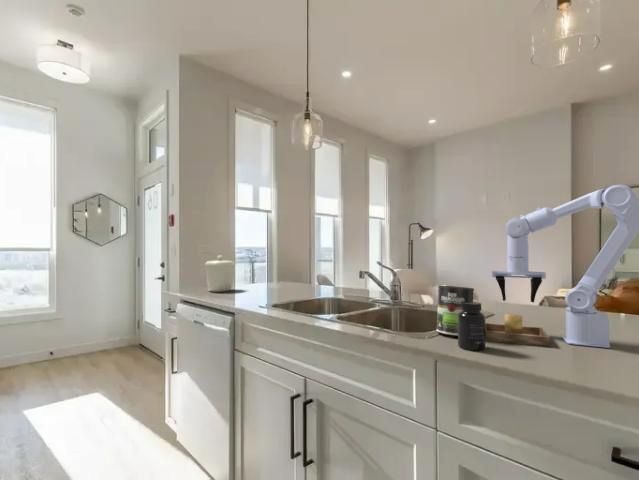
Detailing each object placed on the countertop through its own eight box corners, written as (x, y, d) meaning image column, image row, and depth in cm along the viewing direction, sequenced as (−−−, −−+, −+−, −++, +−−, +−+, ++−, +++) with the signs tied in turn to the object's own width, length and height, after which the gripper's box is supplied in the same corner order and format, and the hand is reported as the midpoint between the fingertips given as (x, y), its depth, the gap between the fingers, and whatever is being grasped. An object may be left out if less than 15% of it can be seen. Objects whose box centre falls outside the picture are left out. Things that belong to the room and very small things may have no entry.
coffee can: (469, 338, 100) (470, 288, 101) (432, 332, 105) (434, 285, 106) (475, 333, 108) (476, 287, 109) (440, 328, 114) (442, 285, 115)
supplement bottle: (453, 344, 96) (453, 300, 96) (477, 343, 97) (476, 300, 97) (465, 351, 89) (465, 304, 90) (491, 351, 90) (490, 304, 90)
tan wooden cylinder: (523, 336, 102) (523, 315, 102) (520, 339, 99) (520, 318, 99) (506, 333, 105) (506, 313, 105) (503, 336, 102) (503, 316, 102)
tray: (542, 336, 104) (541, 327, 104) (549, 347, 93) (549, 337, 94) (482, 331, 111) (482, 322, 111) (483, 340, 100) (483, 331, 100)
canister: (223, 293, 196) (223, 256, 196) (197, 292, 202) (197, 255, 203) (241, 289, 213) (241, 255, 213) (216, 288, 219) (217, 254, 219)
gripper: (542, 257, 110) (543, 300, 110) (491, 256, 116) (491, 297, 115) (546, 258, 103) (547, 304, 103) (492, 257, 109) (492, 300, 109)
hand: (518, 301), depth 109 cm, fingers open, 7 cm apart
